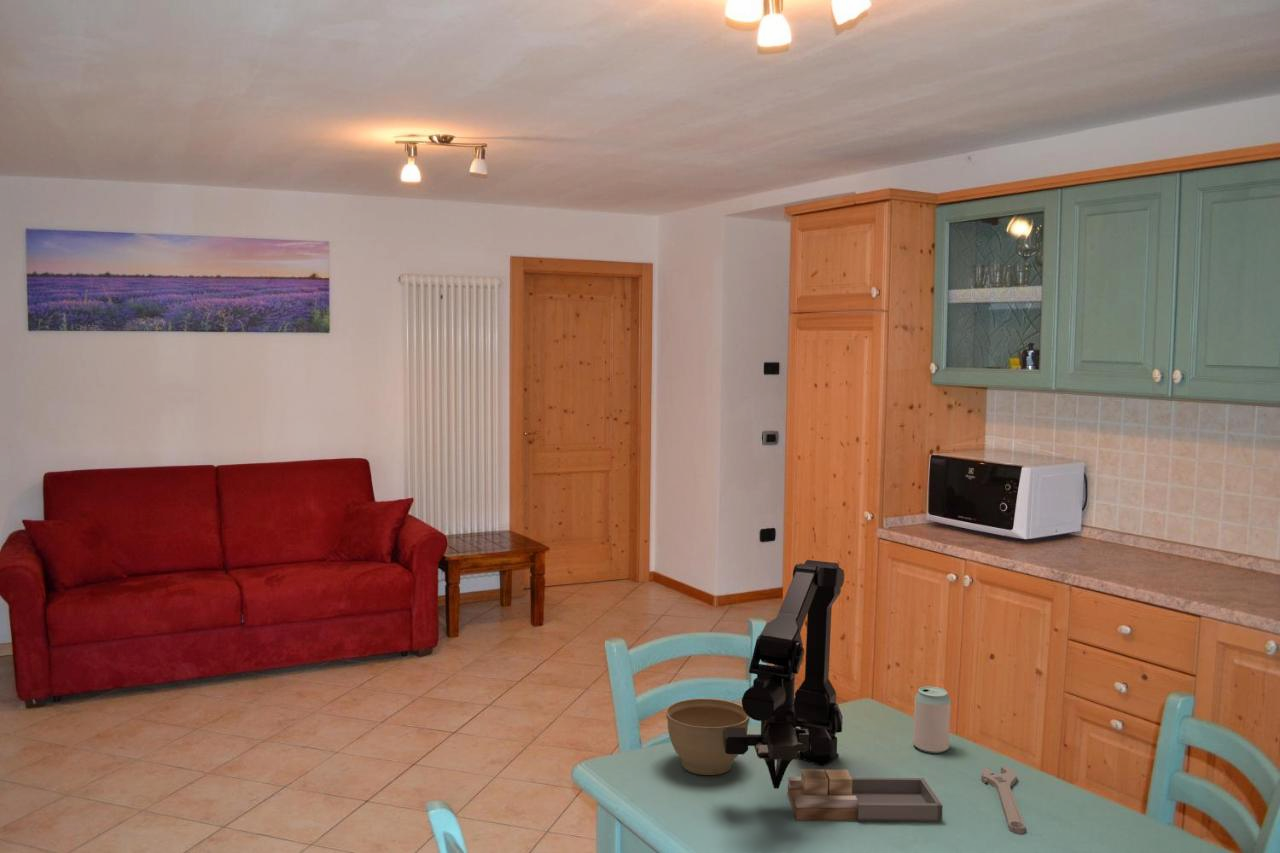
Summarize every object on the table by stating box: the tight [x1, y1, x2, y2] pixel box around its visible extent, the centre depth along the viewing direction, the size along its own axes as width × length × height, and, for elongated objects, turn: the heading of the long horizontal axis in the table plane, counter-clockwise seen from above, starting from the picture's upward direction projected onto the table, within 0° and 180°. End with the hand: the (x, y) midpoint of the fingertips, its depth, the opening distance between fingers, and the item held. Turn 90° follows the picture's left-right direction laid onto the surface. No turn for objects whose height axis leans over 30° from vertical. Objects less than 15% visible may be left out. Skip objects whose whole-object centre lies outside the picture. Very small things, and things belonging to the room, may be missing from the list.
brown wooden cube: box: [800, 768, 828, 796], centre depth 177 cm, size 4×4×4 cm
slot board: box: [787, 776, 858, 822], centre depth 177 cm, size 10×10×4 cm
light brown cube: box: [824, 769, 853, 796], centre depth 177 cm, size 4×4×4 cm
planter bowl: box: [665, 698, 751, 776], centre depth 193 cm, size 16×16×11 cm
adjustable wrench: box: [981, 766, 1026, 835], centre depth 181 cm, size 25×6×2 cm, turn 163°
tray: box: [851, 777, 944, 823], centre depth 177 cm, size 14×11×3 cm
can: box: [912, 686, 952, 754], centre depth 204 cm, size 7×7×12 cm
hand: (775, 787), depth 177 cm, fingers closed
